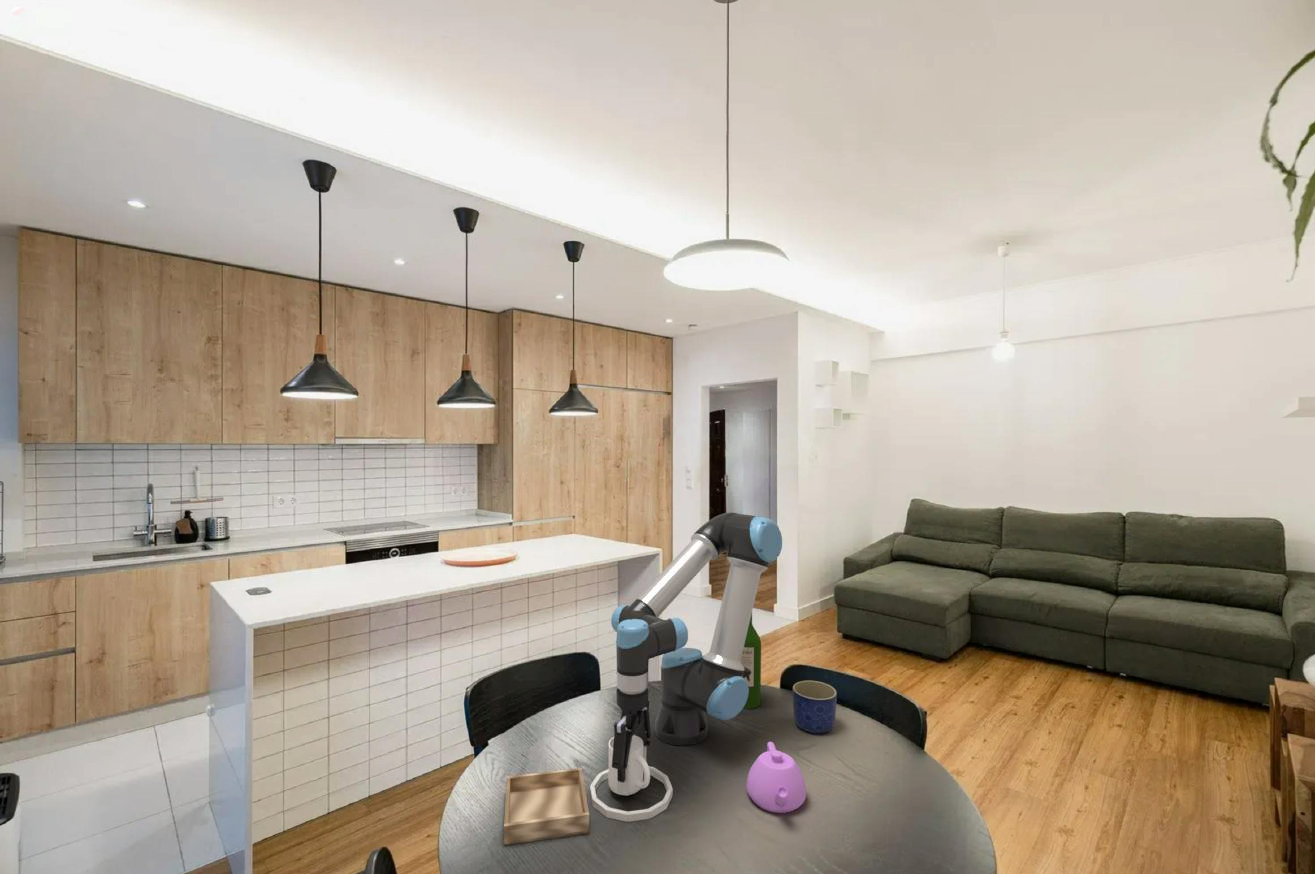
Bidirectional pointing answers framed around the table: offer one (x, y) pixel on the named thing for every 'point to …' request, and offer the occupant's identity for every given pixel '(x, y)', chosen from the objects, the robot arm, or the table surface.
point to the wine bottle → (752, 666)
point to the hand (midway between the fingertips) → (632, 782)
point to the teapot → (776, 782)
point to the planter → (814, 706)
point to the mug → (630, 767)
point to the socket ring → (638, 813)
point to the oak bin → (545, 806)
